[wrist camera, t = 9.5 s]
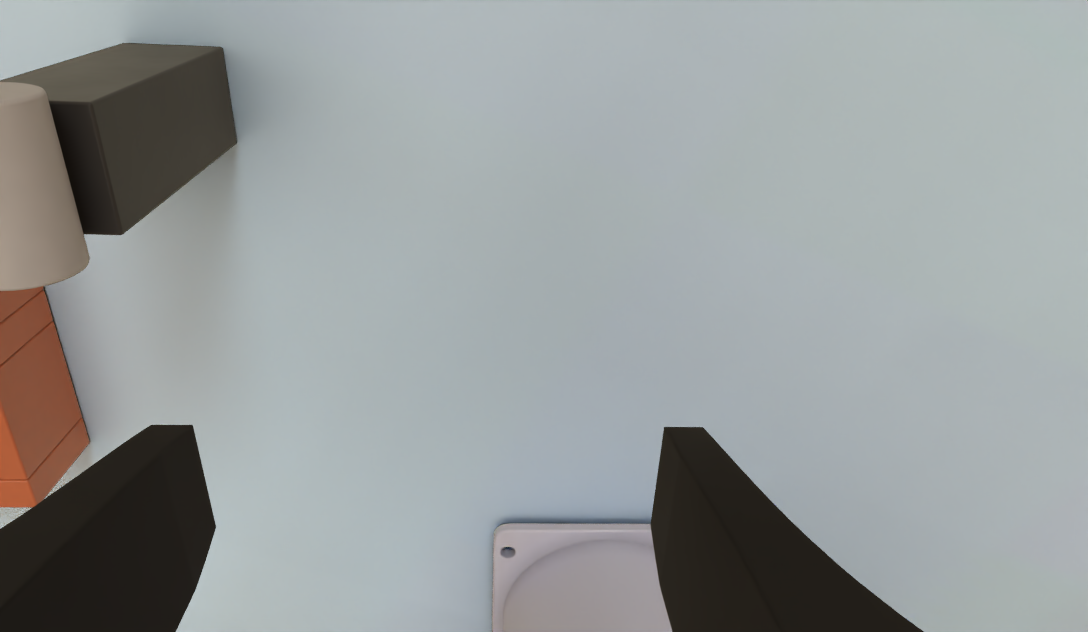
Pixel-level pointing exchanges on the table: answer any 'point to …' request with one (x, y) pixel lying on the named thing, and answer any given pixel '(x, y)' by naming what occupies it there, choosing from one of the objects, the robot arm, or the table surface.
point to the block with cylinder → (102, 149)
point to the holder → (34, 401)
